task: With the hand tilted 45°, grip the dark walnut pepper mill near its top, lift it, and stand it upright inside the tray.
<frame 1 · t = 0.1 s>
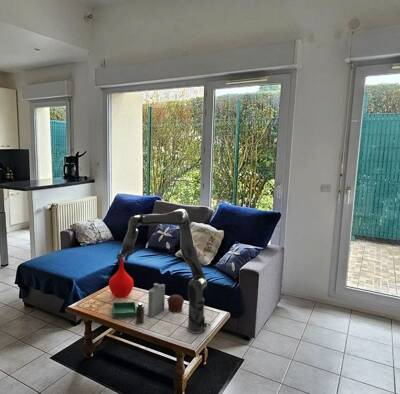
hand: (122, 262, 235), 31 cm above the table, tool tilted 20°, fingers open, 8 cm apart
pepper mill: (139, 322, 217), on the table
muffin: (175, 309, 235), on the table
vase: (121, 295, 255), on the table
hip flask: (155, 312, 230), on the table
tray: (124, 312, 229), on the table
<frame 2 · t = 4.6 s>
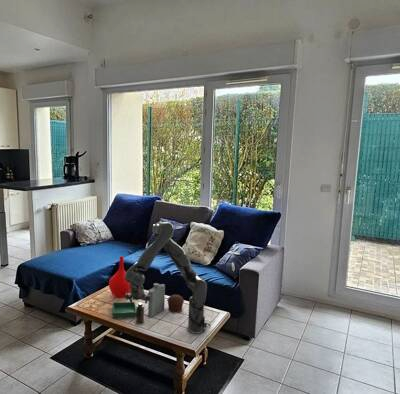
hand: (138, 301, 203), 19 cm above the table, tool tilted 45°, fingers open, 8 cm apart
nothing on the table moved.
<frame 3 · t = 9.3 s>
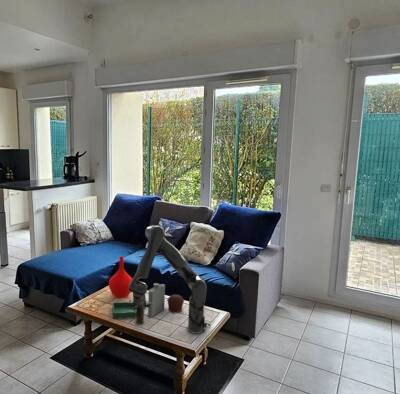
hand: (140, 307, 217), 9 cm above the table, tool tilted 45°, fingers closed on pepper mill, 5 cm apart
pepper mill: (139, 322, 217), on the table, touching gripper
everything else where it was.
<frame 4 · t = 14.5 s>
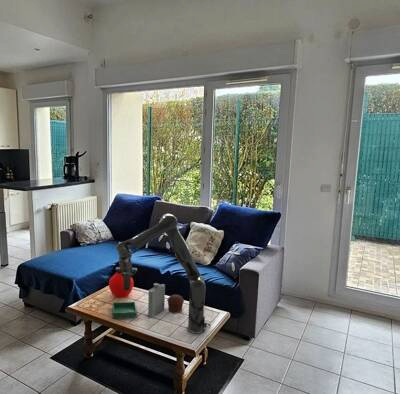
hand: (127, 275, 225), 26 cm above the table, tool tilted 45°, fingers closed on pepper mill, 5 cm apart
pepper mill: (126, 288, 225), point 17 cm above the table, touching gripper
everything else where it was.
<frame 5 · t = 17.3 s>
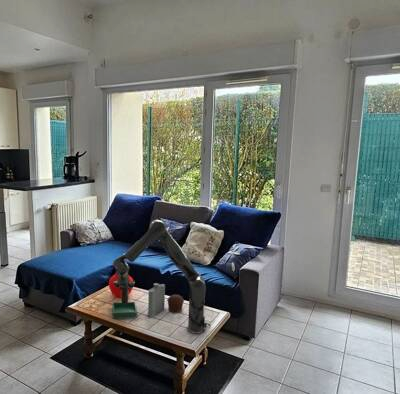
hand: (125, 288, 229), 16 cm above the table, tool tilted 45°, fingers closed on pepper mill, 5 cm apart
pepper mill: (124, 301, 228), point 7 cm above the table, touching gripper
everything else where it was.
when the fingers open (9 cm above the table, at t = 19.7 s): pepper mill stays where it is, resting on tray.
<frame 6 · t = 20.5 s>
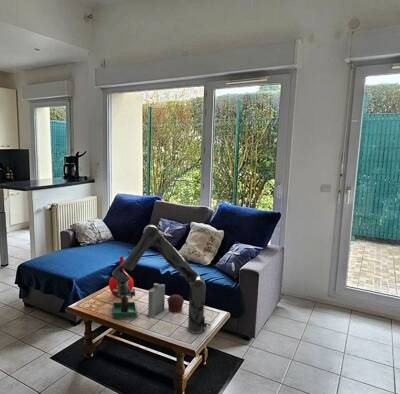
hand: (124, 296, 229), 11 cm above the table, tool tilted 45°, fingers open, 8 cm apart
pepper mill: (124, 311, 229), point 1 cm above the table, touching tray
everything else where it was.
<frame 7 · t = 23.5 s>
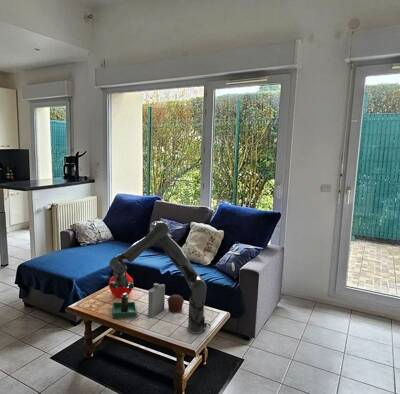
hand: (122, 289, 215), 21 cm above the table, tool tilted 45°, fingers open, 8 cm apart
nothing on the table moved.
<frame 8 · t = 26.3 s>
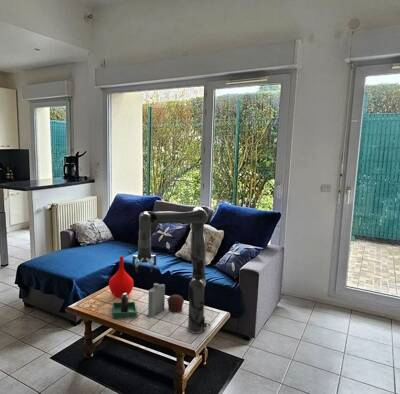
hand: (144, 272, 204), 36 cm above the table, tool pointing down, fingers open, 8 cm apart
nothing on the table moved.
at the end: pepper mill inside the target area in the tray (0.1 cm from its centre), point 0.6 cm above the tray's base; pepper mill tilted 0° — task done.
